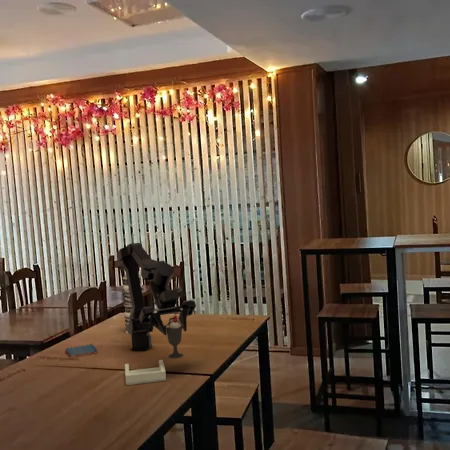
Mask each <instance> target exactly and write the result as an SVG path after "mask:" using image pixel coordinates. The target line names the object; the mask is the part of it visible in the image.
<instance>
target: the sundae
mask: <svg viewBox="0 0 450 450" xmlns="http://www.w3.org/2000/svg"><path fill="white" fill-rule="evenodd" d="M177 314H178V313H177V312H176V313H174V316H173V317H170V318H169V319H168V323H167V324H164V327H165V329H166V333H167V334H166V337H167V340H168V343H169V344H170V345H171V346H172V347H173V350H172V351H173V352H172V353H171V354H169V355H168V358H169V359H180V358H182V357H184V354H183V353H180V352H179V351H178V345H180V344H181V342H182V335H183V334H182V332H183V331H182V330H183V327H184V325H182V324H181V323H180V321H179V319H178V318H179V317H178V316H177Z"/></svg>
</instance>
